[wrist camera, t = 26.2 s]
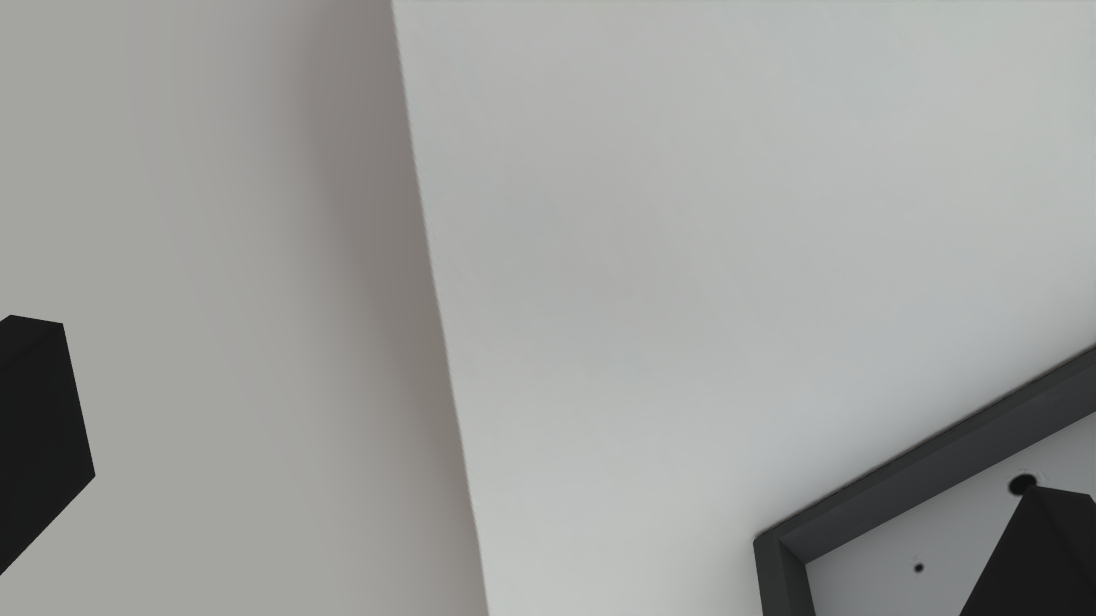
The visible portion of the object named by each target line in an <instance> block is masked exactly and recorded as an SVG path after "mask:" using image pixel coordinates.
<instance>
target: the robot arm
mask: <svg viewBox="0 0 1096 616" xmlns="http://www.w3.org/2000/svg"><path fill="white" fill-rule="evenodd" d="M94 477H95V471H94V466H93V462H92V457H91V453H90V448H89V443H88V438H87V434H86V429H85V424H84V420H83V415H82V411H81V406H80V401H79V397H78V392H77V387H76V382H75V378H74V373H73V369H72V364H71V359H70V355H69V350H68V345H67V341H66V336H65V331H64V327H63V324H62V323H57V322H51V321H44V320H39V319H33V318H27V317H21V316H15V315H9V316H8V317H6V318H5V319H3V320H2V321H0V575H1V574H2V573H3V572H4V571H5V570H6V569H7V568H8V567H9V566H10V565H11V564H12V563H13V562H14V561H15V560H16V559H17V558H18V556H19V555H20V554H21V553H22V552H23V551H24V550H25V549H26V548H27V547H28V546H29V545H30V544H31V543H32V542H33V541H34V540H35V539H36V538H37V537H38V536H39V535H40V534H41V533H42V531H43V530H44V529H45V528H46V527H47V526H48V525H49V524H50V523H51V522H52V521H53V520H54V519H55V518H56V517H57V516H58V515H59V514H60V513H61V512H62V511H63V510H64V509H65V507H66V506H67V505H68V504H69V503H70V502H71V501H72V500H73V499H74V498H75V497H76V496H77V495H78V494H79V493H80V492H81V491H82V490H83V489H84V488H85V486H87V485H88V483H89V482H90V481H91V480H92V479H93V478H94ZM959 616H1096V503H1095V502H1094V500H1093V499H1092V497H1091V496H1090V494H1084V493H1078V492H1072V491H1066V490H1060V489H1054V488H1048V487H1042V486H1036V485H1030V484H1029V485H1028V487H1027V489H1026V491H1025V492H1024V494H1023V496H1022V498H1021V500H1020V502H1019V504H1018V506H1017V507H1016V509H1015V511H1014V513H1013V515H1012V517H1011V519H1010V521H1009V523H1008V524H1007V526H1006V528H1005V530H1004V532H1003V534H1002V536H1001V538H1000V539H999V541H998V543H997V545H996V547H995V549H994V551H993V553H992V554H991V556H990V558H989V560H988V562H987V564H986V566H985V568H984V569H983V571H982V573H981V575H980V577H979V579H978V581H977V583H976V585H975V586H974V588H973V590H972V592H971V594H970V596H969V598H968V600H967V601H966V603H965V605H964V607H963V609H962V611H961V613H960V615H959Z"/></svg>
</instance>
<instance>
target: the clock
mask: <svg viewBox="0 0 1096 616" xmlns="http://www.w3.org/2000/svg"><path fill="white" fill-rule="evenodd" d="M1029 484H1030V485H1036V486H1042V487H1048V488H1054V489H1060V490H1066V491H1072V492H1078V493H1084V494H1090V496H1091V497H1092V499H1093V500H1094V502H1095V503H1096V348H1095V349H1094V350H1092V351H1090V352H1088V353H1086V354H1085V355H1083V356H1081V357H1079V358H1078V359H1076V360H1074V361H1072V362H1070V363H1069V364H1067V365H1065V366H1063V367H1061V368H1060V369H1058V370H1056V371H1054V372H1053V373H1051V374H1049V375H1047V376H1045V377H1044V378H1042V379H1040V380H1038V381H1037V382H1035V383H1033V384H1031V385H1029V386H1028V387H1026V388H1024V389H1022V390H1020V391H1019V392H1017V393H1015V394H1013V395H1012V396H1010V397H1008V398H1006V399H1004V400H1003V401H1001V402H999V403H997V404H995V405H994V406H992V407H990V408H988V409H987V410H985V411H983V412H981V413H979V414H978V415H976V416H974V417H972V418H970V419H969V420H967V421H965V422H963V423H962V424H960V425H958V426H956V427H954V428H953V429H951V430H949V431H947V432H946V433H944V434H942V435H940V436H938V437H937V438H935V439H933V440H931V441H929V442H928V443H926V444H924V445H922V446H921V447H919V448H917V449H915V450H913V451H912V452H910V453H908V454H906V455H904V456H903V457H901V458H899V459H897V460H896V461H894V462H892V463H890V464H888V465H887V466H885V467H883V468H881V469H880V470H878V471H876V472H874V473H872V474H871V475H869V476H867V477H865V478H863V479H862V480H860V481H858V482H856V483H855V484H853V485H851V486H849V487H847V488H846V489H844V490H842V491H840V492H838V493H837V494H835V495H833V496H831V497H830V498H828V499H826V500H824V501H822V502H821V503H819V504H817V505H815V506H814V507H812V508H810V509H808V510H806V511H805V512H803V513H801V514H799V515H797V516H796V517H794V518H792V519H790V520H789V521H787V522H785V523H783V524H781V525H780V526H778V527H776V528H774V529H772V530H771V531H769V532H767V533H765V534H764V535H762V536H760V537H758V538H756V539H755V540H754V542H753V547H754V554H755V561H756V568H757V575H758V582H759V589H760V596H761V603H762V610H763V616H959V615H960V613H961V611H962V609H963V607H964V605H965V603H966V601H967V600H968V598H969V596H970V594H971V592H972V590H973V588H974V586H975V585H976V583H977V581H978V579H979V577H980V575H981V573H982V571H983V569H984V568H985V566H986V564H987V562H988V560H989V558H990V556H991V554H992V553H993V551H994V549H995V547H996V545H997V543H998V541H999V539H1000V538H1001V536H1002V534H1003V532H1004V530H1005V528H1006V526H1007V524H1008V523H1009V521H1010V519H1011V517H1012V515H1013V513H1014V511H1015V509H1016V507H1017V506H1018V504H1019V502H1020V500H1021V498H1022V496H1023V494H1024V492H1025V491H1026V489H1027V487H1028V485H1029Z"/></svg>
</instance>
